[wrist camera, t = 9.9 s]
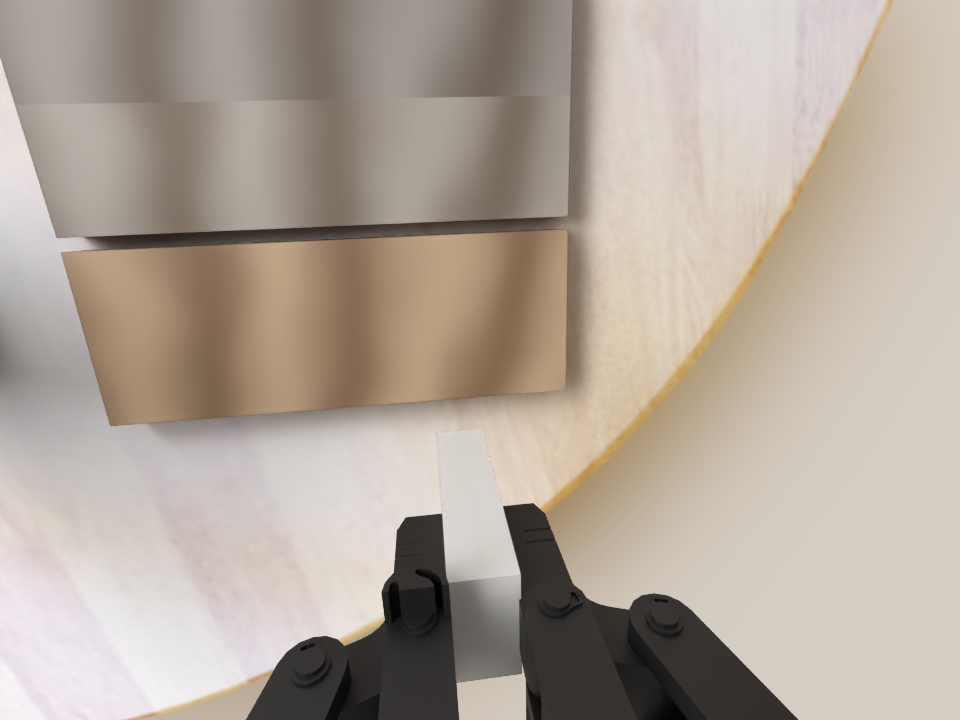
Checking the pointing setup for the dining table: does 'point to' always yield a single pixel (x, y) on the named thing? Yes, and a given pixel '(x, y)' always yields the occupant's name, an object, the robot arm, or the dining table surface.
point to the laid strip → (290, 111)
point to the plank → (322, 322)
